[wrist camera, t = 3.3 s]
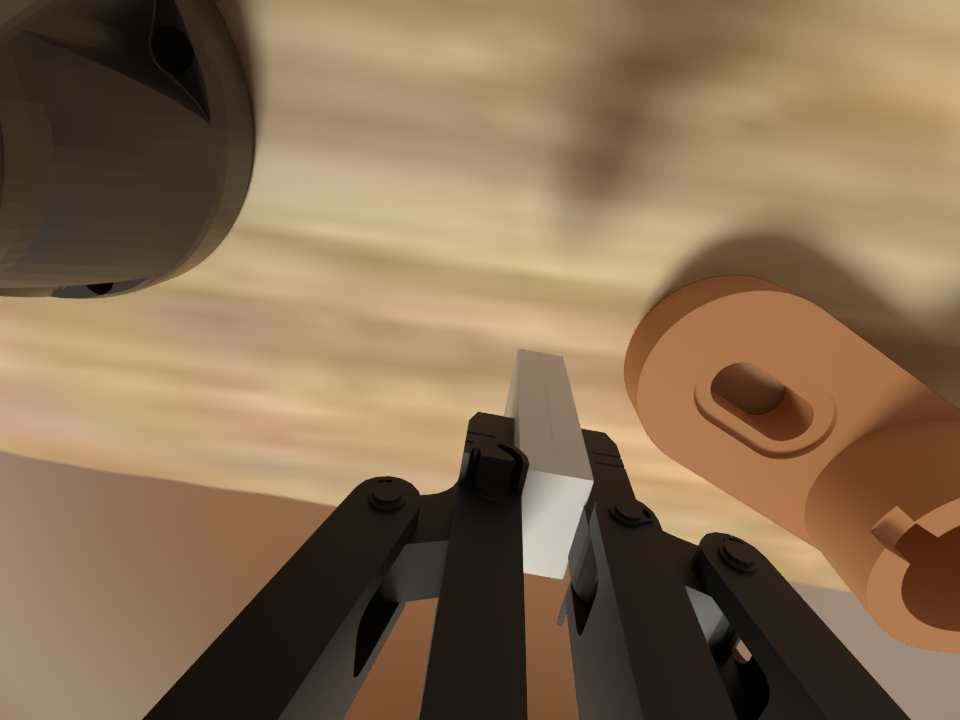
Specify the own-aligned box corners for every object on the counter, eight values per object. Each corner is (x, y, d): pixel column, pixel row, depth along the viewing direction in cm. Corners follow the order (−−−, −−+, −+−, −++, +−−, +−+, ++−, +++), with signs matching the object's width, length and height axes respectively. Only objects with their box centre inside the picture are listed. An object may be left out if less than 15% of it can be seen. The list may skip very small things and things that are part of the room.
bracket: (995, 445, 23) (1181, 557, 16) (852, 551, 26) (963, 679, 19) (710, 235, 20) (803, 273, 13) (587, 383, 23) (615, 471, 16)
